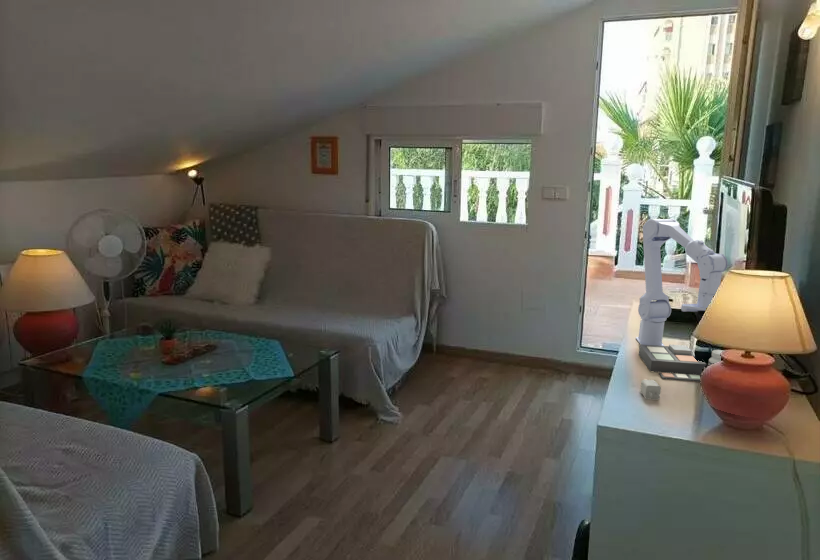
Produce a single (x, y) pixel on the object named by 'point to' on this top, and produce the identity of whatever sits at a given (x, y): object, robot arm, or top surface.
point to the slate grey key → (679, 349)
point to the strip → (680, 377)
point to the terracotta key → (686, 358)
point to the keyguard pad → (669, 362)
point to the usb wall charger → (650, 389)
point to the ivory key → (657, 349)
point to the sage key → (662, 356)
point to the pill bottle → (715, 357)
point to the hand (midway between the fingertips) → (703, 334)
